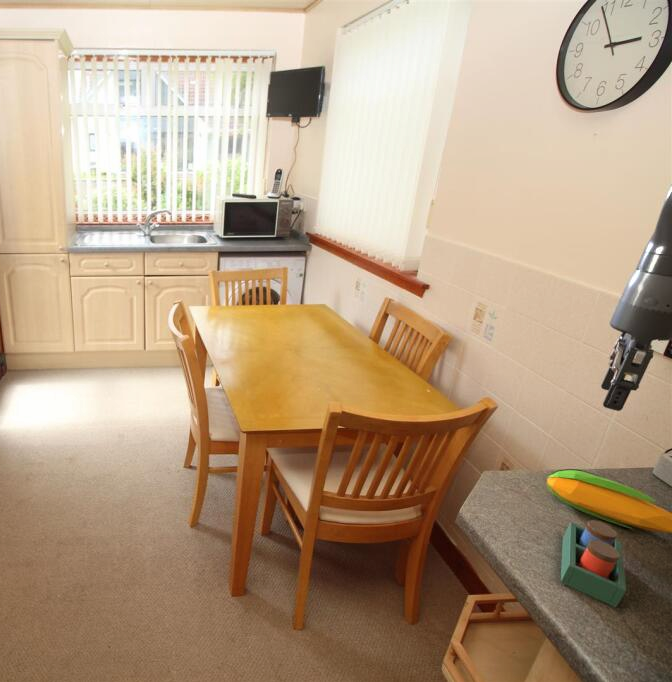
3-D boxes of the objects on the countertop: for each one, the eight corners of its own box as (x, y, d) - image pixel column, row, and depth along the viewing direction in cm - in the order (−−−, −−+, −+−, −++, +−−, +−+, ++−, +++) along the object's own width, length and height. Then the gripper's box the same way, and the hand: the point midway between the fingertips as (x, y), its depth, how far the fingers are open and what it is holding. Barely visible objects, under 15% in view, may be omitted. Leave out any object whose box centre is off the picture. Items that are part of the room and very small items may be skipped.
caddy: (612, 558, 79) (621, 542, 78) (616, 607, 70) (626, 590, 69) (562, 537, 83) (570, 522, 82) (560, 582, 74) (569, 565, 73)
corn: (556, 452, 94) (700, 500, 82) (542, 482, 97) (679, 532, 85) (553, 471, 89) (706, 525, 77) (539, 502, 92) (684, 558, 80)
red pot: (603, 576, 75) (619, 548, 72) (604, 591, 72) (620, 562, 70) (574, 564, 77) (589, 535, 74) (574, 578, 74) (589, 549, 72)
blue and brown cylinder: (601, 555, 79) (616, 528, 77) (602, 569, 76) (617, 540, 74) (574, 544, 81) (587, 517, 79) (573, 556, 78) (588, 528, 76)
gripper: (699, 320, 63) (645, 425, 69) (682, 298, 73) (637, 391, 79) (623, 306, 67) (580, 406, 73) (618, 288, 77) (580, 377, 83)
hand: (609, 398), depth 76 cm, fingers open, 8 cm apart
